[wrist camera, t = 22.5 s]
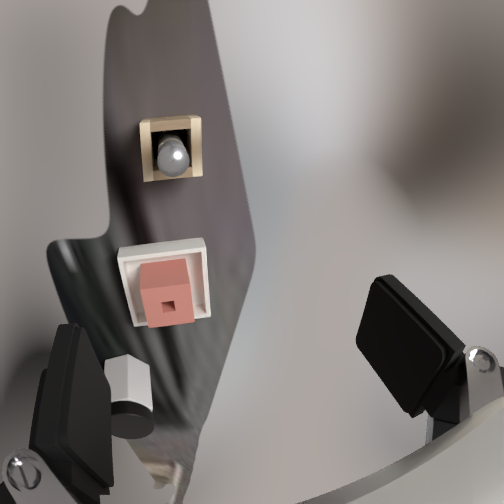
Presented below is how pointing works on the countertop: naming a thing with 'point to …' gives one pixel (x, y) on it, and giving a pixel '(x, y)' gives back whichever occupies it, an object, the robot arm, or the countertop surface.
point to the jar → (129, 397)
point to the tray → (164, 251)
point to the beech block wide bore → (171, 123)
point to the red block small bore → (166, 293)
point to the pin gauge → (172, 155)
